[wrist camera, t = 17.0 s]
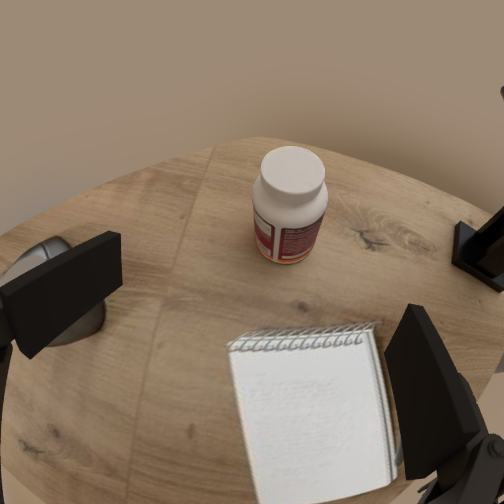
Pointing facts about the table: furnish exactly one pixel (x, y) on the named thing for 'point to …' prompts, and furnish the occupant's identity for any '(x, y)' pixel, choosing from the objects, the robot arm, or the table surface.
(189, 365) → the table surface
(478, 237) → the bracket
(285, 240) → the pill bottle
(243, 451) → the table surface
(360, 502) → the table surface
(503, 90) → the lever
